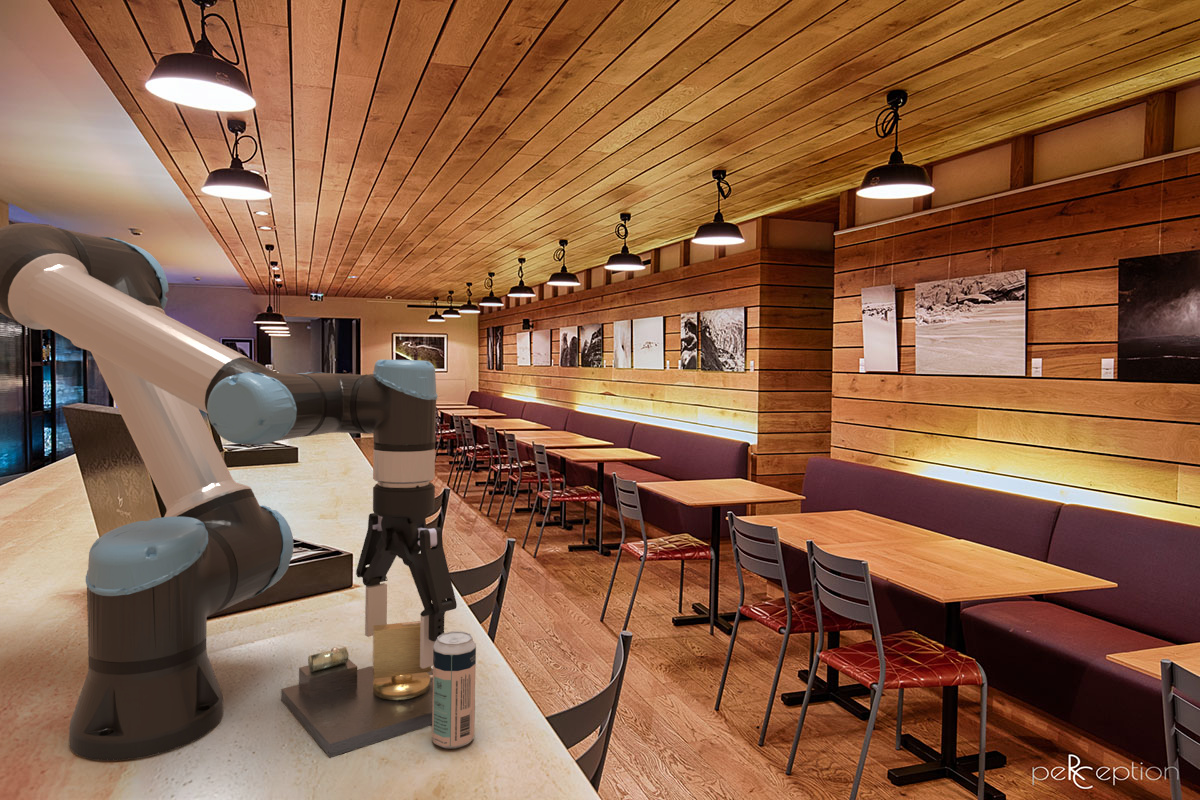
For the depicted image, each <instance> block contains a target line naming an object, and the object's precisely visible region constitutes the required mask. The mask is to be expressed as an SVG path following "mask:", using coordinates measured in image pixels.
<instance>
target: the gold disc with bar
mask: <svg viewBox="0 0 1200 800" xmlns="http://www.w3.org/2000/svg"><path fill="white" fill-rule="evenodd" d="M420 624H421V620H419V621H410V622H409V621H408V622H397V623H387V624H386V625H376V626H373V636H372V666H373V677H374V681H373V692H374V694H375V695H376V696H378V697H380V698H383V699H389V700H403V699H409V698H413V697H417V696H419V695H421V694H423V693H425V692H426V691H427V690H428V689H429V687H430V683H433V675H429V674H428V673H427V672H431V668H432V666H430V667H427V668H424V669H423V668H421V667H420Z"/></svg>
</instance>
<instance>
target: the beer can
mask: <svg viewBox="0 0 1200 800" xmlns="http://www.w3.org/2000/svg"><path fill="white" fill-rule="evenodd" d="M473 638H474V637H473V636H472V634H471V633H468V632H466V631H457V630H456V631H449V632H448V631H447V632H444V633H443V634H441V635H440V636H438V637H437V640H436V642H435V644H434V646H433V666H432V669H433V707H432V725H431V740H432V742H433V744H434V745H437V746H439V747H440V748H443V749H446V750H453V749H454V750H455V749H459V748H463V747H465V746H466V745H468V744H469V743H471V741H473V740H474V737H475V721H476V720H475V716H476V715H475V714H476V712H475V711H476V665H477V663H476V662H477V660H476V659H477V657H476V655H477V644H476V643H477V642H475V641H474V639H473Z"/></svg>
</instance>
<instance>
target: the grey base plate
mask: <svg viewBox="0 0 1200 800" xmlns="http://www.w3.org/2000/svg"><path fill="white" fill-rule="evenodd" d="M307 664H308V665H305V666H304V665H303V666H300V667H298V684H296V685H291V686H287V687H284V688H281V689H280V693H281V694H280V697H281V698H280V701H281V702H282V704H284V706H286V708H287V710H289V711H290V713H291V714H292V715H293V716H294V718H296V720H297V721H298V722H299V723H300V724H301V726H302V727H303V728H304V729H305V730H306V731H307V733H308V734H309V735H310V736H311V737H312V738H313V739H314V741H315V742H316V743H317V744H318V746H319V747H320V748H321V749H322V750H323V751H324V752H325V753H326V755H327V756H328V757H329V758H333V757H336V756H339V755H341V754H345V753H348V752H353V751H354V750H357V749H361V748H364V747H367V746H371V745H373V744H376V743H379V742H382V741H385V740H388V739H392V738H395V737H397V736H401V735H403V734H407V733H410V732H414V731H416V730H419V729H423V728H425V727H428V726H429V727H430V726H432V707H433V683H430V687H429V689H428V690H427V691H426V692H425V693H423V694H421V695H419V696H417V697H413V698H409V699H403V700H389V699H383V698H380V697H378V696H376V695H375V694H374V692H373V681H374V677H373V665H371V666H367V667H362V668H359V669H358V666H357V665H356V663H354V662H353V661H351V659H349V651H348V649H347V647H340V648H338V647H335V646H334V647H332V648H331V649H330V650H328V651H324V652H319V653H314V654H309V656H308V658H307ZM427 673H428V674H429V675H433V667H431V672H427Z"/></svg>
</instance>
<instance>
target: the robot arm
mask: <svg viewBox="0 0 1200 800" xmlns="http://www.w3.org/2000/svg"><path fill="white" fill-rule="evenodd" d="M168 282H169V281H168V278H167V275H166V273H165V270H164V268H163V267H162V265H161V264H160V262H159V261H158V260H157V259H156V258H155V257H154V256H153V255H152V254H151V253H150V252H149V251H147V250H145V249H144V248H142V247H140V246H138V245H136V244H132V243H129V242H127V241H125V240H122V239H119V238H116V237H115V238H114V237H109V236H96V235H91V234H86V233H83V232H78V231H75V230H74V231H73V230H69V229H65V228H61V227H54V226H52V225H47V224H42V223H36V222H35V223H33V222H20V223H18V222H17V223H13V224H12V223H11V224H8V225H4V226H1V227H0V314H2V315H4V316H6V317H7V318H9V319H11V320H12V321H15V322H17V323H19V324H20V325H23V326H24V327H26V328H29V329H32V330H36V331H37V330H42V331H43V330H44V331H45V330H52V331H53V332H54V333H57V334H59V335H60V336H63V337H64V338H66V339H68V340H70V342H71V344H72V345H74V346H75V347H77V348H80V349H82V350H86V351H89V352H90V354H91V355H92V358H93V359H94V361H95V363H96V366H97V367H98V370H99V372H100V373H101V376H102V378H103V380H104V382H105V384H106V386H107V388H108V390H109V392H110V394H111V397H112V399H113V401H114V403H115V405H116V407H117V409H118V411H119V413H120V415H121V418H122V419H123V421H124V424H125V425H126V428H127V430H128V432H129V434H130V436H131V438H132V440H133V442H134V444H135V446H136V449H137V450H138V452H139V454H140V457H141V459H142V461H143V463H144V465H145V467H146V469H147V471H148V474H149V475H150V477H151V479H152V481H153V484H154V485H155V487H156V488H155V489H156V490H157V492H158V494H159V496H160V498H161V500H162V503H163V504H164V506H165V509H166V512H165V514H164V516H163V517H161V516H160V517H155V518H152V519H149V520H138V521H135V522H134V521H133V522H131V523H127V524H123V525H121V526H118V527H116V528H113V529H112V530H109V531H107V532H105V533H103V534H102V535H101V536H99V537H98V538H97V539H96V540H95V542H94V543H93V544H92V545H91V547H90V549H89V552H88V565H87V567H88V568H87V571H86V575H85V585H86V599H87V602H86V603H87V605H86V606H87V639H88V640H87V645H88V646H87V648H88V651H87V653H88V656H87V657H88V662H87V663H88V664H87V665H88V667H87V669H88V671H87V675H86V677H85V681H84V683H83V686H82V689H81V691H80V693H79V697H78V700H77V702H76V705H75V707H74V711H73V712H72V713H73V714H72V716H71V720H70V722H69V728H68V729H69V736H68V737H69V738H68V739H69V740H68V741H69V748H70V750H71V751H72V752H73V753H74V754H75V755H77V756H79V757H81V758H85V759H87V760H88V759H89V760H94V761H104V762H105V761H110V762H111V761H113V762H114V761H126V760H133V759H134V760H135V759H141V758H145V757H151V756H156V755H159V754H163V753H165V752H170V751H172V750H176V749H178V748H181V747H183V746H186V745H188V744H190V743H193V742H195V741H196V740H198V739H200V738H202V737H203V736H205V735H207V734H209V733H210V732H211V731H213V729H214V728H216V727H217V726H218V725H219V723H220V722H221V721H222V718H223V716H224V697H223V696H224V695H223V692H222V690H221V687H220V684H219V681H218V679H217V677H216V673H215V671H214V669H213V665H212V663H211V661H210V658H209V656H208V652H207V630H208V629H207V623H208V621H207V620H208V619H207V617H210V616H211V615H212V616H213V615H214V614H216V613H218V612H221V611H223V610H225V609H227V608H229V607H231V606H232V607H233V606H235V605H236V604H239V603H241V602H243V601H245V600H249V599H253V598H255V597H256V596H259V595H260V594H262V593H264V592H265V591H266V590H267V589H269V588H271V587H272V586H274V585H275V584H277V582H279V581H280V580H281V579H282V578H283V576H284V575H286V573H287V571H288V569H289V567H290V563H291V560H292V558H293V555H294V536H293V533H292V532H293V531H292V529H291V526H290V525H289V523H288V521H287V519H286V518H285V517H284V516H283V515H282V514H281V513H280V512H279V511H278V510H274V509H271V507H269V506H266V505H260V504H259V502H258V499H257V497H256V496H255V494H254V492H253V489H252V487H251V486H249V485H245V484H243V483H242V484H241V483H239V482H236V481H235V480H234V479H233V476H232V475H231V473H230V470H229V469H228V466H227V464H226V462H225V460H224V458H223V456H222V455H221V452H220V450H219V448H218V446H217V444H216V442H215V440H214V438H213V436H212V434H211V432H210V429H209V428H208V426H207V424H206V422H205V419H204V418H203V416H202V413H201V412H200V411H203V412H204V413H206V414H207V416H208V420H209V423H210V424H211V426H213V428H214V429H215V431H216V433H217V435H218V436H220V437H221V438H222V439H224V440H225V441H228V442H230V443H232V444H236V445H237V444H238V445H257V446H258V445H259V446H260V445H267V444H272V443H274V442H279V441H285V440H290V439H295V438H303V437H310V436H317V435H318V436H319V435H324V434H330V433H331V434H333V433H341V434H342V433H343V434H345V433H346V434H365V435H368V434H369V435H370V434H372V436H373V450H372V451H373V452H372V453H373V454H372V458H373V459H372V463H373V465H372V480H374V482H377V483H375V485H374V486H373V488H372V513H369V514H368V520H367V521H368V522H367V531H366V535H365V539H364V540H363V541H364V542H363V545H362V550H361V552H360V556H359V559H358V564H357V567H356V571H355V575H356V577H357V578H362V584H363V585H364V586H365V604H364V605H365V612H364V613H365V618H364V621H365V622H364V623H365V625H364V627H365V628H364V630H365V631H364V635H365V636H366V637H368V638H369V637H373V626H376V625H386V624H388V622H387V621H388V614H387V613H388V583H385V582H387V581H388V576H387V574H388V573H389V570H391V567H392V565H393V563H394V561H395V559H396V558H397V557H398V558H399V559H401V560H402V563H403V564H404V566H407V567H408V568H409V571H410V574H411V576H412V578H413V581H414V584H415V587H416V590H417V593H418V596H419V597H420V601H421V604H422V607H423V610H422V611H421V613H419V615H420V621H421V624H420V667H421V668H423V669H424V668H427V667H430V666H431V667H433V646H434V644H435V642H436V640H437V637H438V636H440V635H441V634H443V633H445V614H446V612H448V611H453V610H455V609H456V608H457V599H456V596H455V591H454V587H453V583H452V579H451V575H450V571H449V567H448V562H447V559H446V558H447V557H446V555H445V554H446V553H445V550H444V543H443V530H442V528H441V527H440V526H439V527H433V528H428V526H427V520H426V518H427V517H428V515H430V514H432V513H433V512H434V511H435V509H436V508H435V500H436V489H435V488H436V485H434V484H433V482H430V481H433V480H434V479H435V473H436V470H435V466H436V462H435V461H436V457H437V456H436V451H435V450H436V449H435V448H436V425H437V424H436V421H437V420H436V418H437V417H436V416H437V400H438V393H437V379H436V376H437V375H436V368H435V366H434V364H433V363H432V362H430V361H429V360H418V359H416V360H414V359H378V360H376V362H375V363H374V367H373V371H372V373H370V374H367V373H366V374H356V373H355V374H351V373H336V372H335V373H333V372H332V373H330V372H323V371H322V372H321V371H316V372H313V371H309V372H300V373H299V372H298V373H282V372H277V371H274V370H273V369H270V368H269V367H266V366H265V365H263V364H261V363H260V362H256V361H255V360H252V359H250V358H249V357H247V356H246V355H243V354H242V353H240V352H239V351H236V350H234V349H232V348H230V347H228V346H227V345H224V344H223V343H220V342H219V341H217V340H214V339H213V338H211V337H209V336H207V335H206V334H203V333H201V332H200V331H197V330H195V329H194V328H192V327H190V326H188V325H186V324H184V323H182V322H180V321H178V320H176V319H174V318H172V317H171V316H168V315H167V314H166V311H165V310H164V309H165V308H166V305H167V303H168V297H166V295H167V293H168V292H169V291H170V290H169V283H168ZM382 582H383V583H382Z"/></svg>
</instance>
